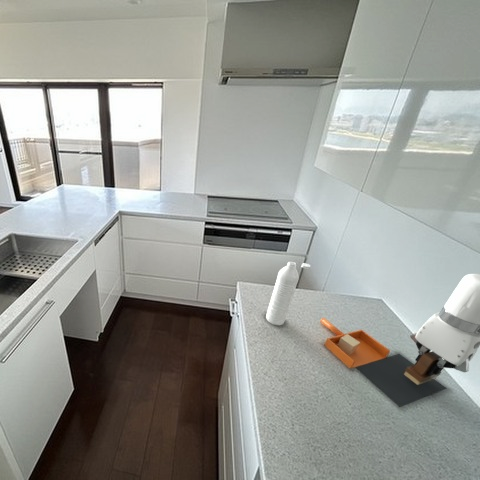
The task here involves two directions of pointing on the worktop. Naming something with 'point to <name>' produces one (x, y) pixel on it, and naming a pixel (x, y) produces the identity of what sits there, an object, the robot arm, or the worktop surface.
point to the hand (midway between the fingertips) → (425, 368)
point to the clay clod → (348, 344)
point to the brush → (423, 368)
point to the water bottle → (283, 293)
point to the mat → (397, 380)
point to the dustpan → (365, 352)
